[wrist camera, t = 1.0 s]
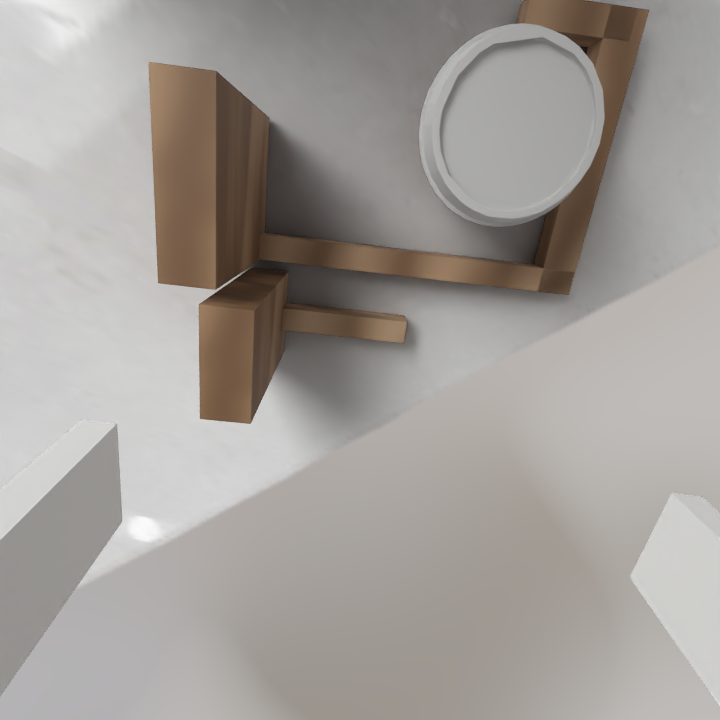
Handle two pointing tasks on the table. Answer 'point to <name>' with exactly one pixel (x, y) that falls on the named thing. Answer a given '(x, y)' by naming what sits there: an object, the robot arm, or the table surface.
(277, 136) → the table surface
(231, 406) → the wooden mallet
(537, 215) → the disposable coffee cup
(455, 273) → the bent wooden rail
